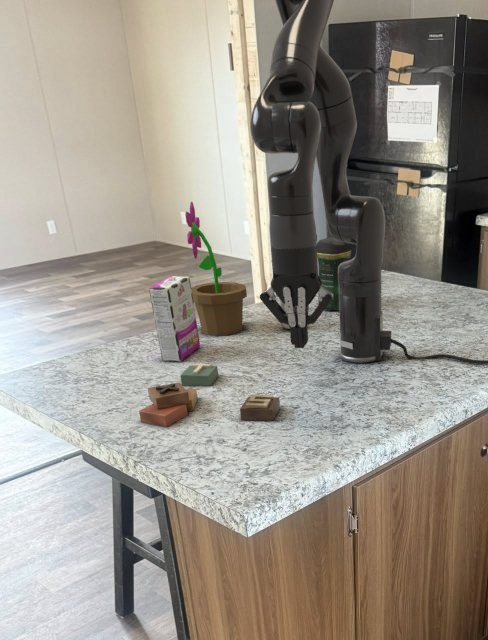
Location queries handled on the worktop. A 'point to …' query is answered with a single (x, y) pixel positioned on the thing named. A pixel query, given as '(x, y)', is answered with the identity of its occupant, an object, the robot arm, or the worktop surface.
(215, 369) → the letter T
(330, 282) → the coffee jar
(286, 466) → the worktop surface
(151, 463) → the worktop surface
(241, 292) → the flowerpot
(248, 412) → the letter S
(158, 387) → the letter pile
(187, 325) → the candy bar box
